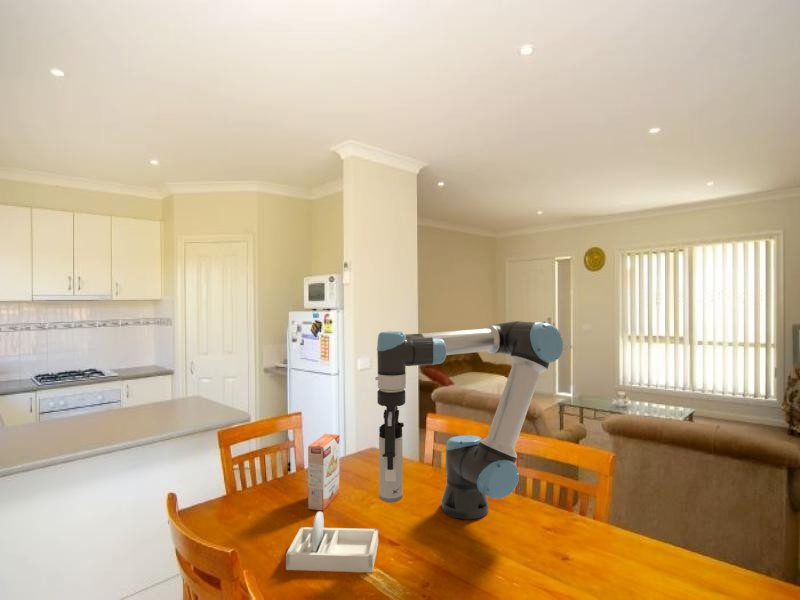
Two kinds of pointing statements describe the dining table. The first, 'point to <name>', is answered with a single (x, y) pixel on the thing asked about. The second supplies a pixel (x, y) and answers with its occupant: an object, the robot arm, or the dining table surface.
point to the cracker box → (323, 471)
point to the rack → (332, 548)
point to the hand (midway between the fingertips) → (391, 475)
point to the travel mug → (392, 489)
